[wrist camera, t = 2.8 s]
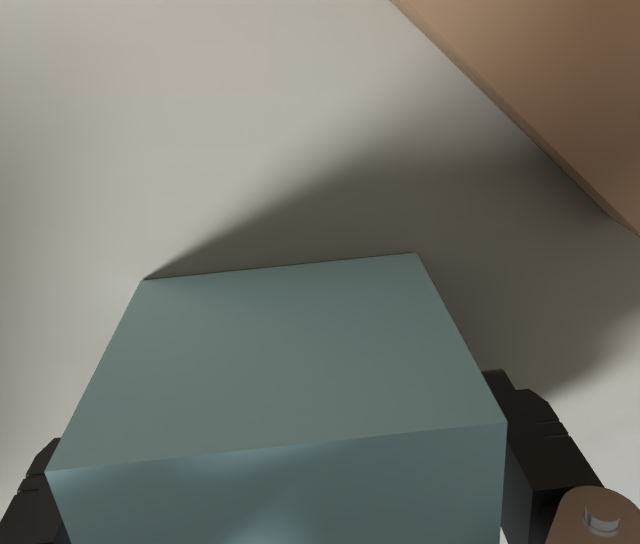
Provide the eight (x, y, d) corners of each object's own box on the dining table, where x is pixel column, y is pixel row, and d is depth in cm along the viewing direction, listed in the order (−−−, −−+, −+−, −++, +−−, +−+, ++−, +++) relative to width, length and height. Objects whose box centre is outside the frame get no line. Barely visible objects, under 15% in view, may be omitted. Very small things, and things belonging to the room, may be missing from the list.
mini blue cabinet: (416, 252, 13) (512, 431, 8) (419, 462, 16) (492, 706, 11) (140, 280, 13) (38, 482, 8) (190, 487, 16) (142, 747, 10)
